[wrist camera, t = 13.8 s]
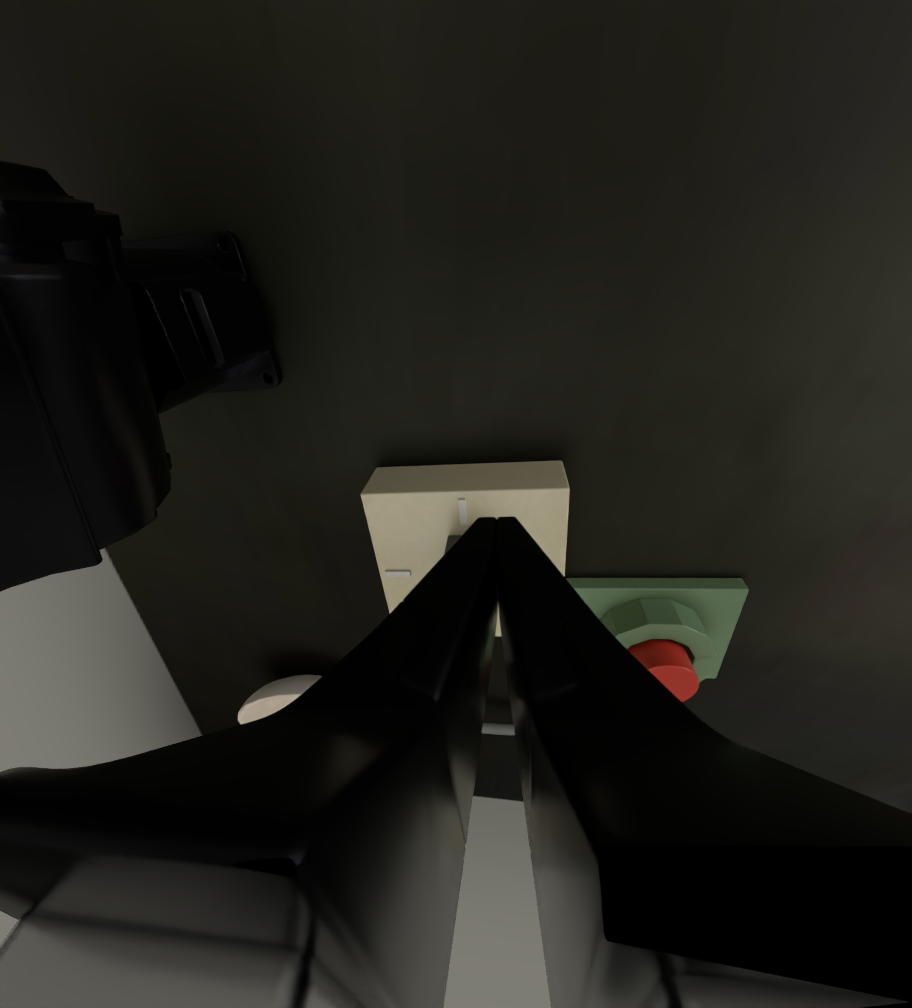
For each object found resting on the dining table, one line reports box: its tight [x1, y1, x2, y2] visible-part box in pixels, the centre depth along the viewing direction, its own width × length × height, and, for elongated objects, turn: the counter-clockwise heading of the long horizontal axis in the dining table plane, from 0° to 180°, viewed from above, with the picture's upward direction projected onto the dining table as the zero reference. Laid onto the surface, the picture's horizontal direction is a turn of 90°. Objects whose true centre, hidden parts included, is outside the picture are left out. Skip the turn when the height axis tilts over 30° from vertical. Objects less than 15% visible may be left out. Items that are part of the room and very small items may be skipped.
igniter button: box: [627, 639, 699, 702], centre depth 23 cm, size 4×4×2 cm
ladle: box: [238, 675, 515, 735], centre depth 32 cm, size 6×28×5 cm, turn 86°
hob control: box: [361, 460, 570, 636], centre depth 23 cm, size 10×10×3 cm
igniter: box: [566, 578, 749, 683], centre depth 25 cm, size 10×8×3 cm
